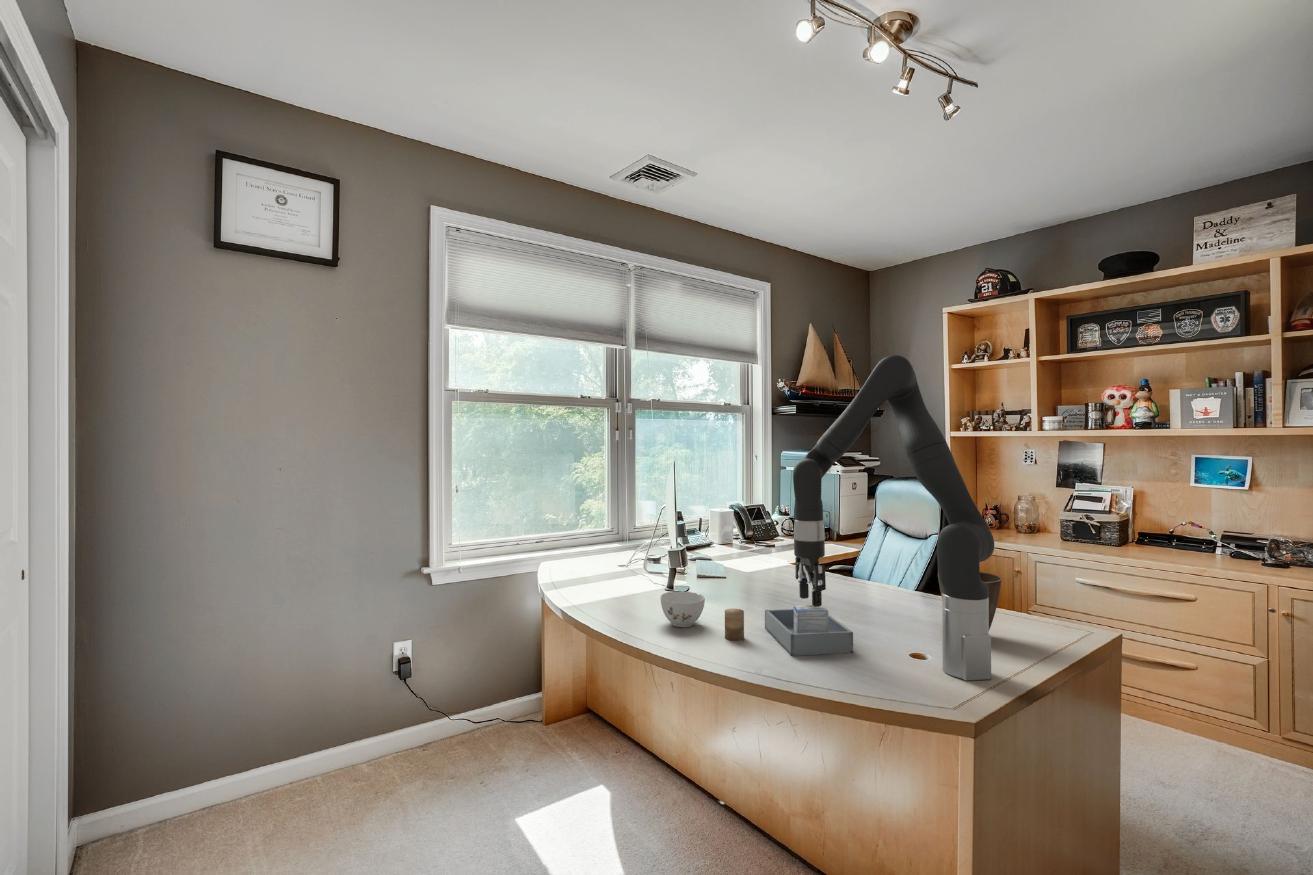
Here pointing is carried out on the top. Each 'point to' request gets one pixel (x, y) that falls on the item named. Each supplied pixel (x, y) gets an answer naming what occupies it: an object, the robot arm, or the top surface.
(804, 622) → the medicine box
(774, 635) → the tote
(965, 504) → the robot arm
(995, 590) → the plant pot
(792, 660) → the top surface
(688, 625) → the teacup
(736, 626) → the tan bread loaf
